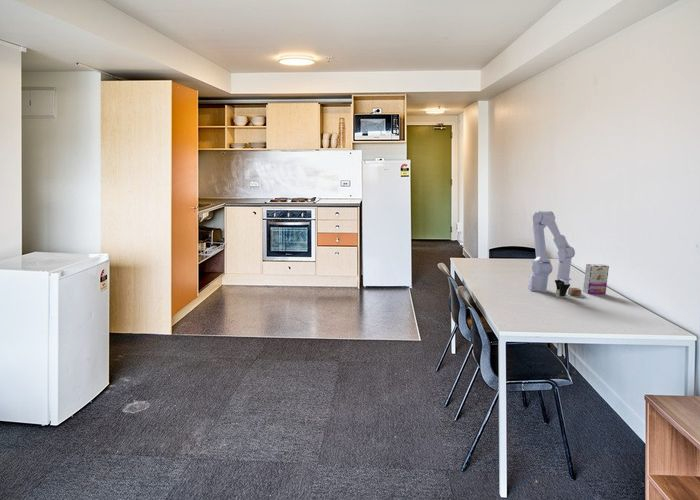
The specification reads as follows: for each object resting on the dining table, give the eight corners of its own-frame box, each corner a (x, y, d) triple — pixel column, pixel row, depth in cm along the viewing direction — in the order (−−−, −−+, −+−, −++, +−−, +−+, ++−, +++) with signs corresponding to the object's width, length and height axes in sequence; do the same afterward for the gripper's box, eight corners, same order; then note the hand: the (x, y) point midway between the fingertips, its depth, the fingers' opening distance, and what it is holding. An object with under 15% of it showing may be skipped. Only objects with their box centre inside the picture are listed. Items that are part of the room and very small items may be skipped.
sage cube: (557, 298, 266) (558, 290, 265) (555, 296, 270) (556, 289, 269) (565, 299, 266) (566, 291, 265) (563, 297, 270) (564, 289, 269)
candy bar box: (599, 292, 285) (603, 264, 282) (605, 294, 280) (609, 265, 278) (581, 292, 283) (585, 263, 280) (587, 294, 278) (591, 265, 275)
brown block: (570, 295, 271) (571, 289, 270) (568, 293, 276) (568, 287, 275) (580, 296, 270) (581, 290, 270) (577, 294, 275) (578, 288, 275)
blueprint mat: (565, 296, 270) (566, 296, 270) (557, 289, 286) (557, 289, 285) (587, 298, 269) (587, 297, 269) (577, 291, 284) (577, 290, 284)
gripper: (576, 273, 258) (573, 299, 260) (567, 267, 272) (564, 292, 274) (562, 272, 259) (558, 297, 261) (554, 266, 273) (551, 291, 275)
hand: (560, 294), depth 268 cm, fingers open, 5 cm apart
